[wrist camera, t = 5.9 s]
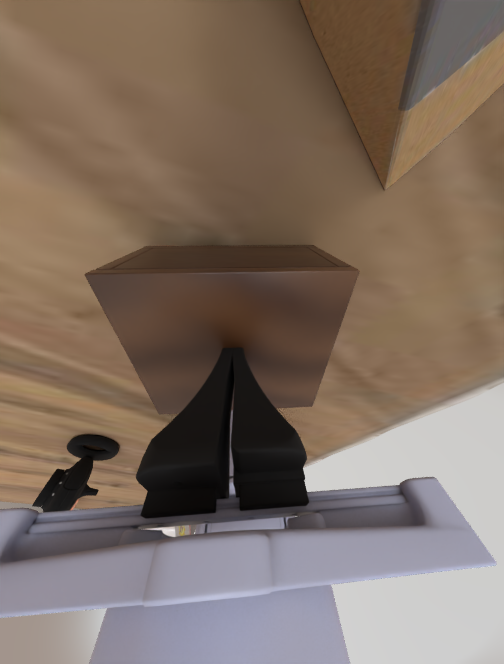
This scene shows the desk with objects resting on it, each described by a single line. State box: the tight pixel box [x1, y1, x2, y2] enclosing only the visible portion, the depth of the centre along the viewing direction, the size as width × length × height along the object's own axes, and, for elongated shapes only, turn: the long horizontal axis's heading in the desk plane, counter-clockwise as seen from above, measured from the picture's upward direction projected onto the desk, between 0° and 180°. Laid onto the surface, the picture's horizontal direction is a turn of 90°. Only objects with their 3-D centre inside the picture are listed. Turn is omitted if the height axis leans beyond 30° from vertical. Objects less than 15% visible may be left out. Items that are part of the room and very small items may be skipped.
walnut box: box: [96, 245, 352, 270], centre depth 15 cm, size 12×14×6 cm
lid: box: [85, 267, 360, 414], centre depth 13 cm, size 12×14×1 cm
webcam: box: [32, 435, 119, 512], centre depth 28 cm, size 8×8×10 cm
